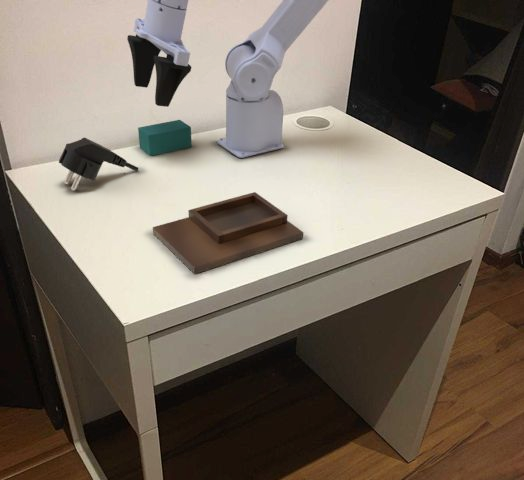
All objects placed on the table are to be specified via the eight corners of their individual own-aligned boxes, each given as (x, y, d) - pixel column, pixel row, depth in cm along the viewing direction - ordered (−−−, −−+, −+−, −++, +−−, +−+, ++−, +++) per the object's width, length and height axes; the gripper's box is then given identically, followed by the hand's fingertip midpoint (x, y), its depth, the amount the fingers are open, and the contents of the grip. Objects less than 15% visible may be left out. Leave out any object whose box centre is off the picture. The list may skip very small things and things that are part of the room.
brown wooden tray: (256, 204, 87) (256, 190, 85) (303, 238, 80) (304, 224, 78) (152, 233, 79) (151, 219, 78) (194, 274, 72) (193, 259, 71)
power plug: (147, 171, 92) (81, 139, 82) (126, 213, 94) (60, 187, 84) (131, 158, 95) (65, 127, 86) (111, 199, 97) (45, 173, 88)
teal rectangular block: (180, 139, 104) (179, 119, 102) (191, 147, 102) (191, 126, 100) (139, 147, 101) (137, 127, 98) (150, 156, 98) (148, 135, 96)
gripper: (122, -18, 88) (109, 75, 96) (166, 14, 80) (148, 112, 88) (163, -9, 92) (148, 80, 100) (209, 22, 84) (189, 115, 92)
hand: (151, 95), depth 94 cm, fingers open, 7 cm apart
